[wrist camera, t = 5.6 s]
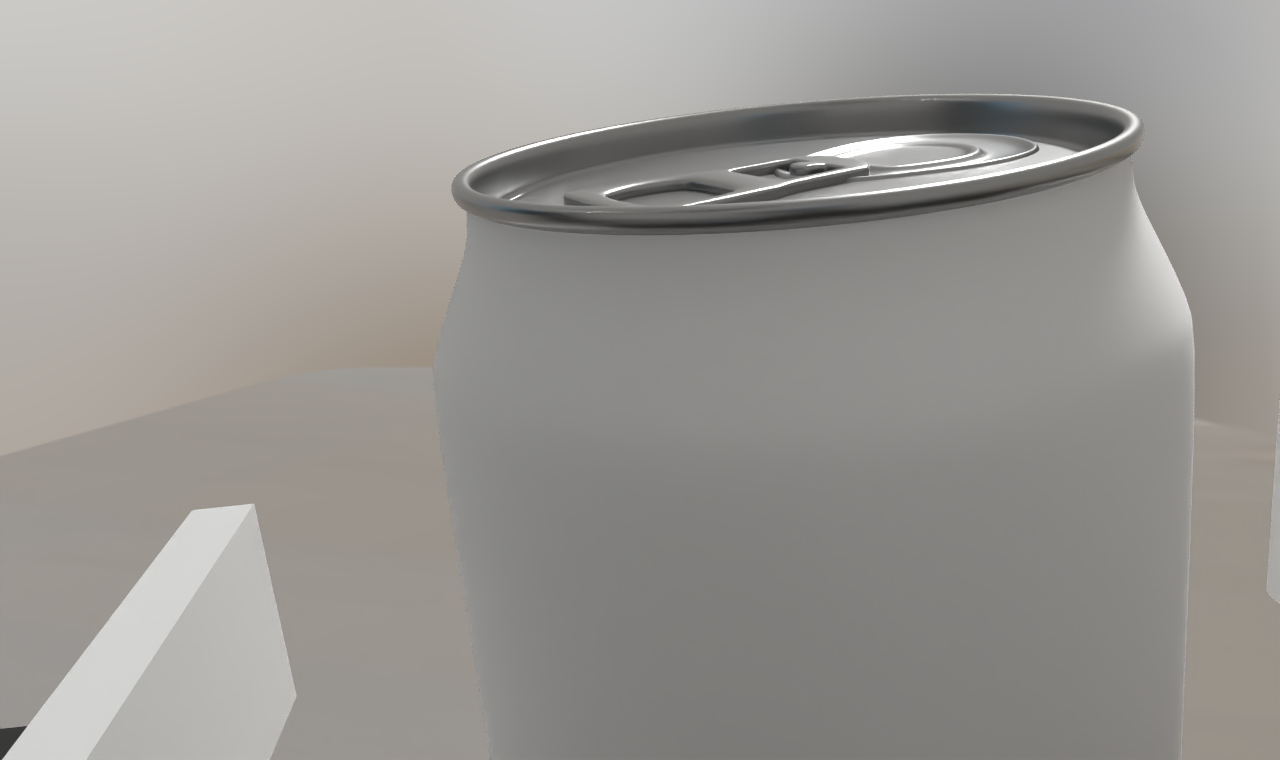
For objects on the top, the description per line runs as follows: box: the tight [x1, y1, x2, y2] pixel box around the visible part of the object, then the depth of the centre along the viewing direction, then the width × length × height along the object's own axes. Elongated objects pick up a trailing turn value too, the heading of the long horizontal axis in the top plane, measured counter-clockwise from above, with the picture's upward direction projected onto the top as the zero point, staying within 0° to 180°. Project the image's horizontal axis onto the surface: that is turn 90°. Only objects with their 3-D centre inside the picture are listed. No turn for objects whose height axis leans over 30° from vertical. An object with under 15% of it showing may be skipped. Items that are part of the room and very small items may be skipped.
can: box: [433, 94, 1195, 760], centre depth 12 cm, size 6×6×12 cm
